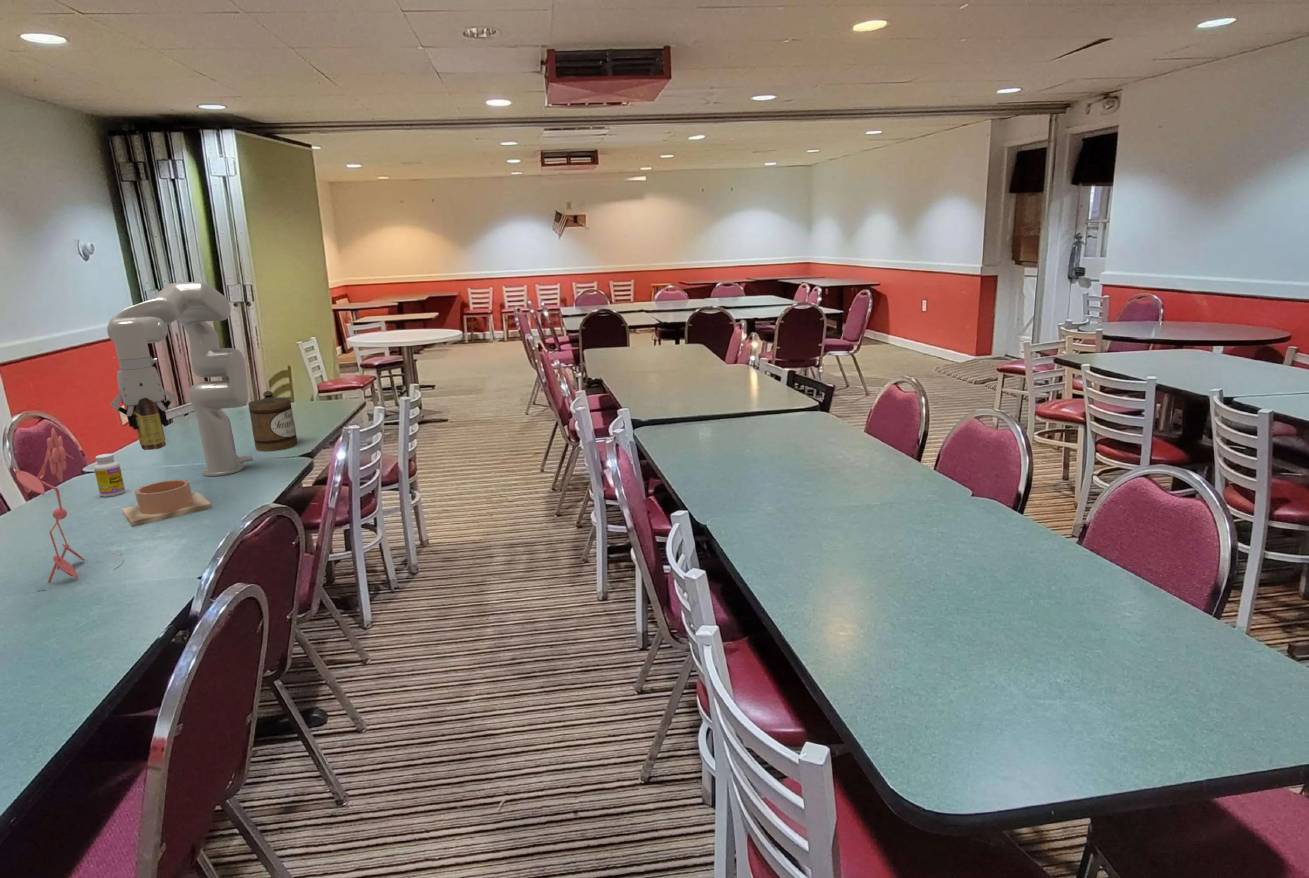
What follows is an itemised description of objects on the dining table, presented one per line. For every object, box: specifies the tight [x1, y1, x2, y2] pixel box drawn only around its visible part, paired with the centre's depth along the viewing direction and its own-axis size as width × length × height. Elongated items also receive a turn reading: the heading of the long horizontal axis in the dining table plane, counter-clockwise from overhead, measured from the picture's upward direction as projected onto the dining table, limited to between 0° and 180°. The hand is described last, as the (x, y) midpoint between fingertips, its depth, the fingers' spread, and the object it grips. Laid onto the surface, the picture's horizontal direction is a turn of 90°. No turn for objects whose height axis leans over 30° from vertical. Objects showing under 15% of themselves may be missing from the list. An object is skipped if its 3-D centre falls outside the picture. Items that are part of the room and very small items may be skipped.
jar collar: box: [134, 479, 193, 514], centre depth 220 cm, size 13×13×6 cm
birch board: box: [121, 491, 213, 528], centre depth 221 cm, size 20×16×2 cm
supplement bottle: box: [93, 453, 126, 498], centre depth 238 cm, size 7×7×13 cm
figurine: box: [14, 427, 125, 592], centre depth 177 cm, size 15×26×35 cm, turn 27°
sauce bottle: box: [132, 383, 167, 451], centre depth 214 cm, size 6×6×20 cm
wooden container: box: [248, 390, 298, 452], centre depth 289 cm, size 15×15×22 cm
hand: (149, 425), depth 215 cm, fingers closed on sauce bottle, 6 cm apart
